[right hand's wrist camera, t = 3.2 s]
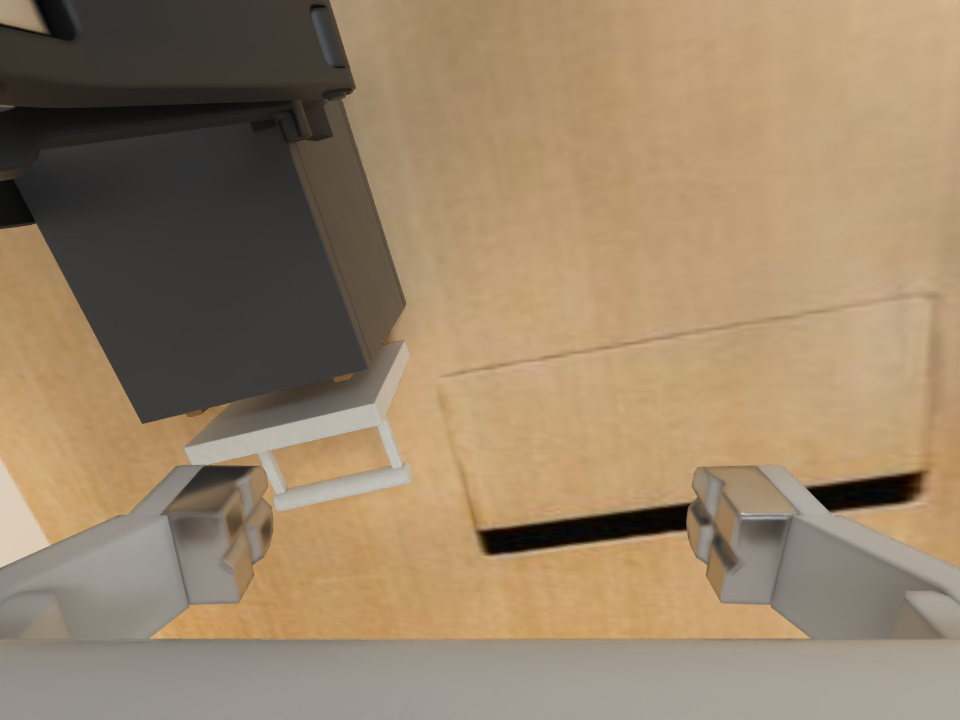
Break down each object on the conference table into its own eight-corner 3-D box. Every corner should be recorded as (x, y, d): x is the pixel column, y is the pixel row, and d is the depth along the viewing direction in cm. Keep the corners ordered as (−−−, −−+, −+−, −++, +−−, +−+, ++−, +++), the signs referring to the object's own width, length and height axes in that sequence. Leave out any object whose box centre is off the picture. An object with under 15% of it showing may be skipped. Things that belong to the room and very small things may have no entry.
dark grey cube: (406, 304, 35) (368, 369, 24) (246, 345, 36) (141, 424, 26) (330, 62, 30) (240, 9, 20) (148, 118, 32) (-31, 97, 21)
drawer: (435, 433, 37) (417, 522, 28) (298, 464, 38) (239, 559, 29) (342, 146, 31) (280, 141, 22) (182, 192, 32) (59, 206, 23)
